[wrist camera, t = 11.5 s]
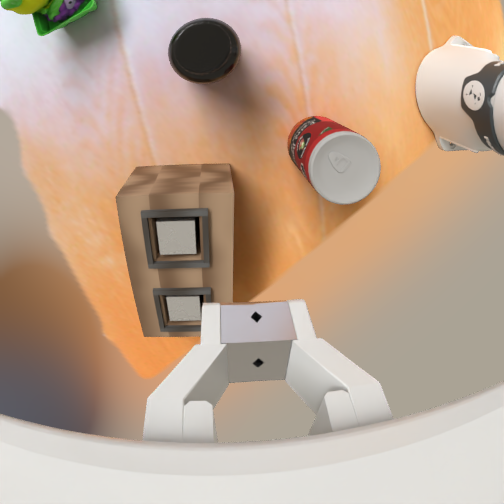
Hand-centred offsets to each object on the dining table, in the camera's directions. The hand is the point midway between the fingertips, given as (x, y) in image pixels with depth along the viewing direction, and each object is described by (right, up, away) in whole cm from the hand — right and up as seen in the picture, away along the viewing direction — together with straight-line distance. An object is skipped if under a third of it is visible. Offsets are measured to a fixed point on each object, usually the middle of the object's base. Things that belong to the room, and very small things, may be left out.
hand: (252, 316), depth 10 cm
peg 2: (-9, 0, +36) cm, 38 cm away
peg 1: (-9, +8, +31) cm, 33 cm away
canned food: (+8, +16, +30) cm, 35 cm away
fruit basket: (-23, +34, +14) cm, 43 cm away
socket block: (-9, +5, +35) cm, 36 cm away
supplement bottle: (-5, +25, +22) cm, 34 cm away
